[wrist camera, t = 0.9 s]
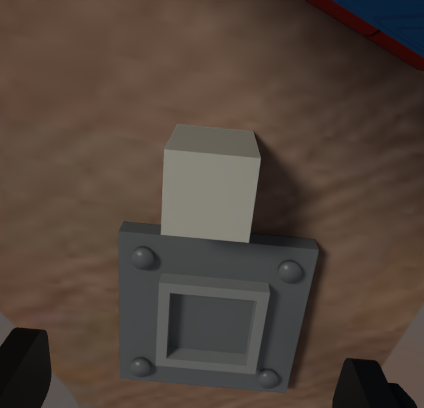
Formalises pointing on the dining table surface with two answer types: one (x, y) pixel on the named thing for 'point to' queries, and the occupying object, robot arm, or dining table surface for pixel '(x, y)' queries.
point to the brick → (209, 183)
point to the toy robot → (384, 24)
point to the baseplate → (211, 307)
